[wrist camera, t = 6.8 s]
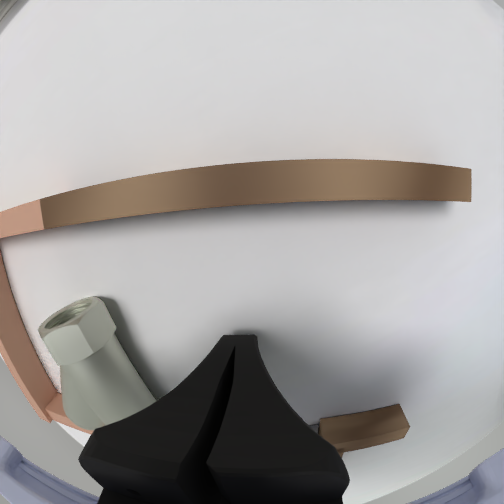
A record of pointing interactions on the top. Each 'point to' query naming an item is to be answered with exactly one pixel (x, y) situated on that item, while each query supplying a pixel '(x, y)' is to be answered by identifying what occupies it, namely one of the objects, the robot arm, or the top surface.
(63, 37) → the top surface
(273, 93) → the top surface
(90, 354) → the pipe fitting
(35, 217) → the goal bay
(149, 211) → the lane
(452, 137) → the top surface
